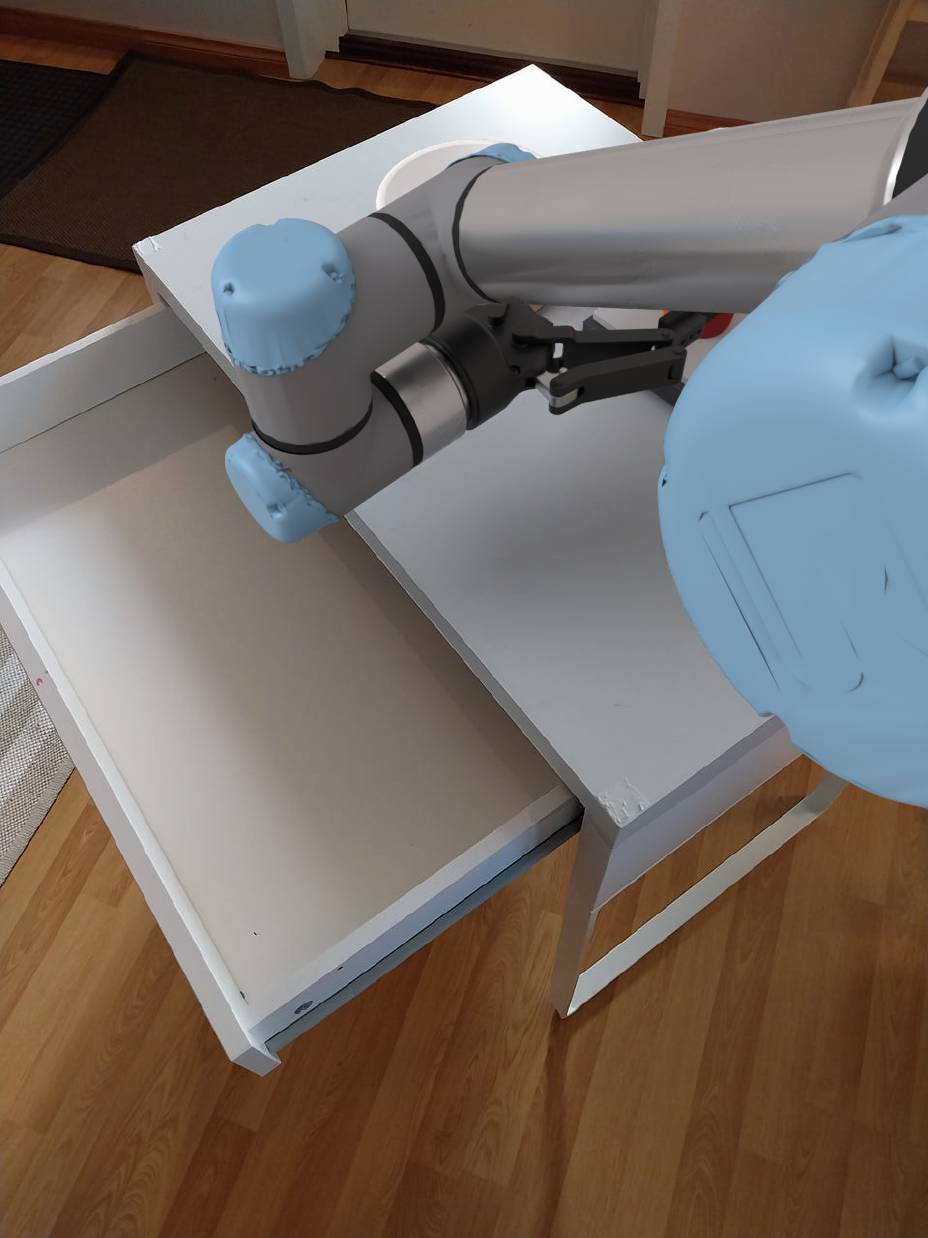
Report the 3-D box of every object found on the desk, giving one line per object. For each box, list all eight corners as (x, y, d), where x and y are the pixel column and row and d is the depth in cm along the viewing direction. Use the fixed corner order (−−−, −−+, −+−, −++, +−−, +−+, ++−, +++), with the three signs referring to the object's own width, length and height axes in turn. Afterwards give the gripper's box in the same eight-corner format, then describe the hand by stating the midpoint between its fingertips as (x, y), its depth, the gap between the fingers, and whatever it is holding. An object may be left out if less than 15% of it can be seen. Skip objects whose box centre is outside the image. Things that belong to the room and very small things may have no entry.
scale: (818, 355, 83) (828, 328, 81) (711, 434, 79) (718, 409, 76) (686, 270, 90) (691, 243, 88) (581, 339, 86) (583, 313, 83)
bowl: (427, 354, 86) (419, 278, 78) (360, 247, 94) (348, 169, 87) (594, 296, 89) (601, 218, 82) (514, 197, 97) (514, 119, 90)
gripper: (341, 336, 73) (542, 219, 80) (560, 527, 62) (771, 373, 69) (324, 254, 67) (545, 134, 73) (565, 451, 56) (798, 289, 63)
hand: (655, 249), depth 71 cm, fingers open, 13 cm apart
